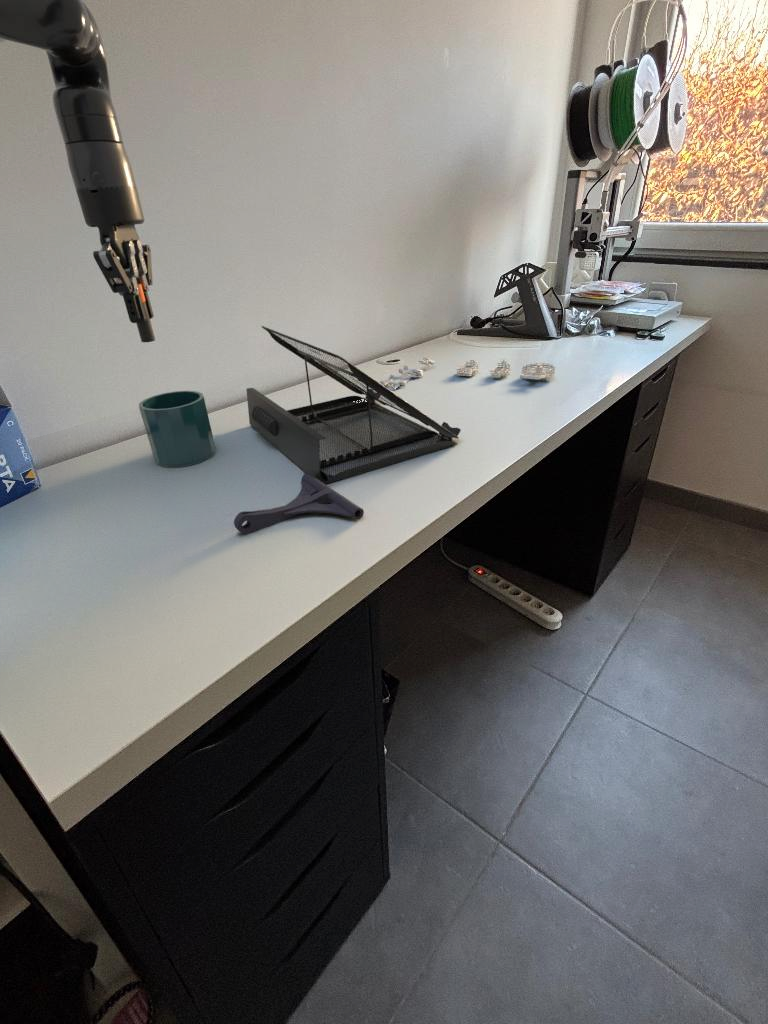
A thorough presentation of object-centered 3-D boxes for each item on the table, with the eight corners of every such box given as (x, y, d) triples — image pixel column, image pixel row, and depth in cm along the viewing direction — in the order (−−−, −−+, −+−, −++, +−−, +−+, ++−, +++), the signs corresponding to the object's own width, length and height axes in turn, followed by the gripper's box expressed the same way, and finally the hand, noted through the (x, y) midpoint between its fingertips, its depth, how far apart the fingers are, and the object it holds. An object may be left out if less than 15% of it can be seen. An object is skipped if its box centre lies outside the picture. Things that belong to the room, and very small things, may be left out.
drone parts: (528, 408, 105) (529, 393, 104) (377, 393, 121) (375, 379, 120) (558, 373, 122) (559, 359, 120) (421, 364, 138) (421, 351, 136)
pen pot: (146, 469, 88) (128, 411, 84) (167, 445, 97) (153, 392, 92) (206, 466, 88) (192, 408, 83) (222, 442, 97) (210, 389, 92)
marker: (138, 343, 80) (122, 286, 76) (144, 339, 82) (129, 284, 78) (152, 342, 80) (137, 285, 76) (158, 339, 82) (143, 283, 78)
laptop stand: (463, 442, 90) (465, 332, 81) (315, 487, 79) (298, 364, 70) (369, 397, 116) (362, 309, 107) (246, 426, 104) (227, 330, 95)
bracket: (218, 514, 74) (213, 496, 72) (311, 481, 81) (309, 465, 79) (261, 560, 63) (257, 540, 62) (364, 518, 70) (362, 499, 69)
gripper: (102, 189, 77) (137, 314, 86) (49, 185, 65) (96, 331, 74) (153, 185, 77) (182, 311, 85) (109, 181, 65) (148, 328, 73)
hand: (142, 320), depth 79 cm, fingers closed on marker, 2 cm apart
